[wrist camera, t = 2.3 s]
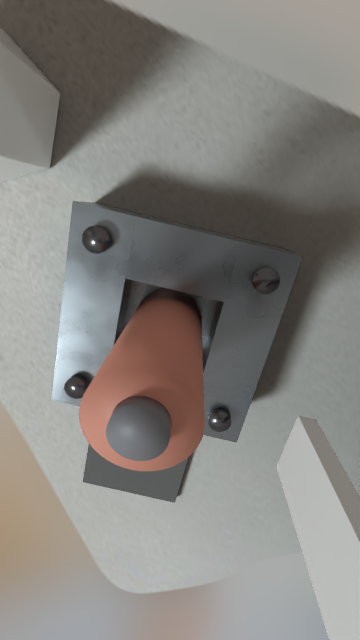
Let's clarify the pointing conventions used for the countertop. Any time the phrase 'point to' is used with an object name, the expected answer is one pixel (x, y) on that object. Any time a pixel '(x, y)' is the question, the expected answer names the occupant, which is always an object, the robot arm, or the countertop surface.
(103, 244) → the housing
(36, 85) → the jar
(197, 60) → the countertop surface
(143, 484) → the rubber pad
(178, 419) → the orange cylinder
